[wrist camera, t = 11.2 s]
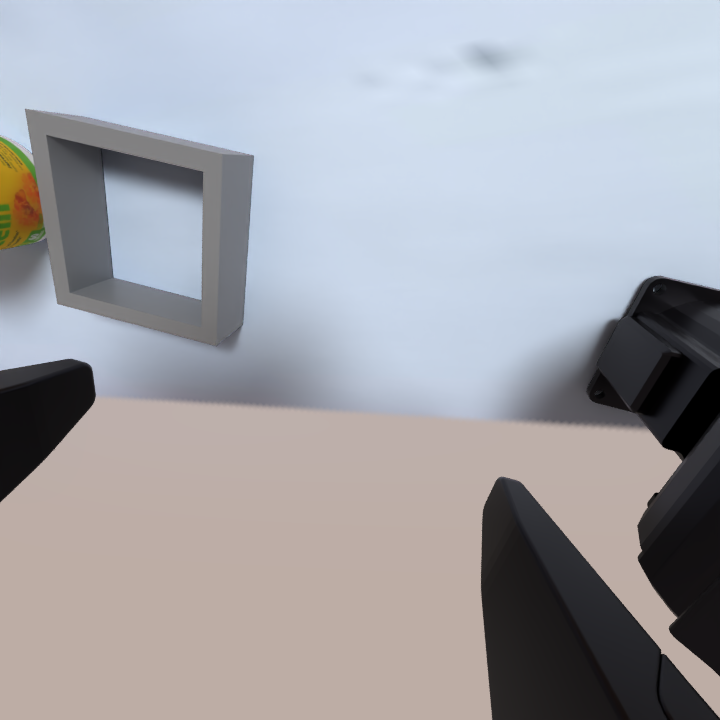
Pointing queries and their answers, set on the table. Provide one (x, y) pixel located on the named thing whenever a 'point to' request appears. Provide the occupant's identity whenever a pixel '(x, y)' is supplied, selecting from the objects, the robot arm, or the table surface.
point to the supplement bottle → (18, 197)
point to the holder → (91, 236)
